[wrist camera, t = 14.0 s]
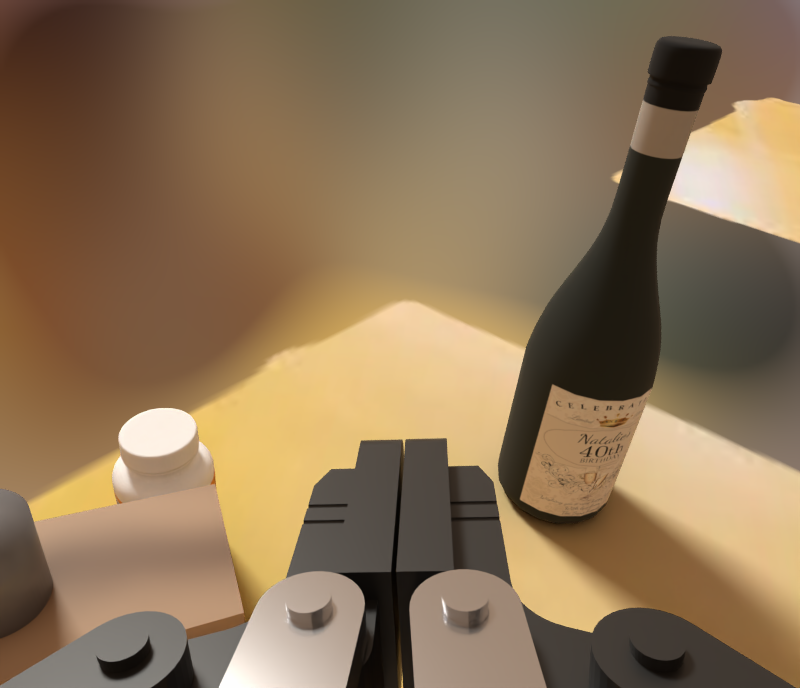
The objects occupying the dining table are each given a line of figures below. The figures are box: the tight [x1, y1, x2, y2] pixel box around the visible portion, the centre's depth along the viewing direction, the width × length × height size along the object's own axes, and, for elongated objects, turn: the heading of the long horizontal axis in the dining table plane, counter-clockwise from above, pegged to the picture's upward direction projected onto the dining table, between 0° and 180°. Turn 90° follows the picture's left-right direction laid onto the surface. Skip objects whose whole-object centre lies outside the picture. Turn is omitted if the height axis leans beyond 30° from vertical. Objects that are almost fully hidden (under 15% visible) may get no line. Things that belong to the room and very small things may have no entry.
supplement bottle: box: [112, 408, 216, 504], centre depth 38 cm, size 5×5×10 cm
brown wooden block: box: [0, 484, 245, 685], centre depth 28 cm, size 7×17×11 cm, turn 112°
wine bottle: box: [498, 36, 722, 523], centre depth 39 cm, size 8×8×30 cm
